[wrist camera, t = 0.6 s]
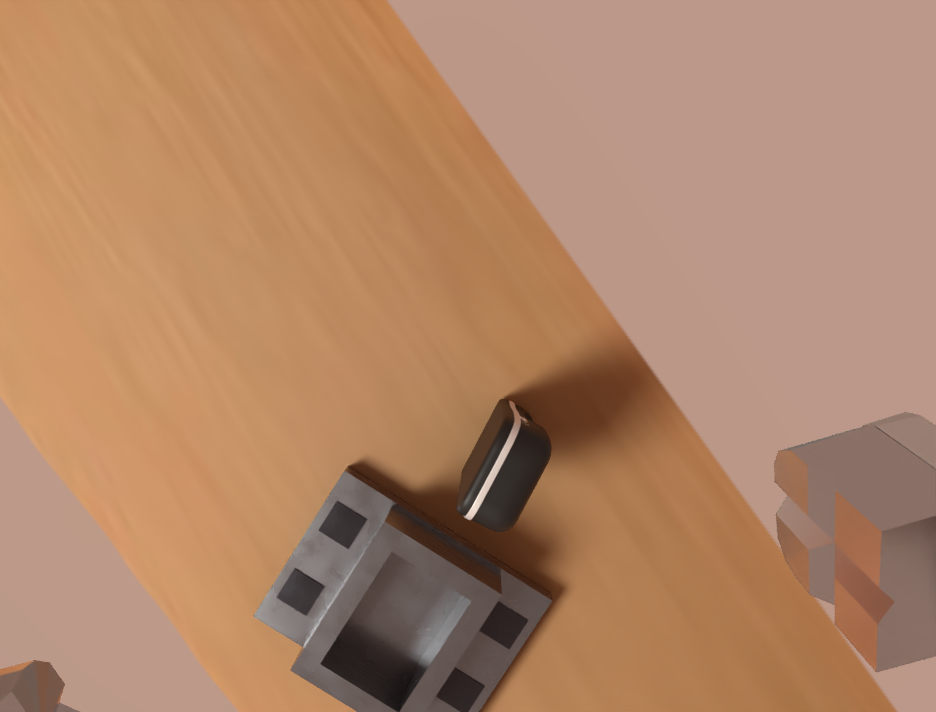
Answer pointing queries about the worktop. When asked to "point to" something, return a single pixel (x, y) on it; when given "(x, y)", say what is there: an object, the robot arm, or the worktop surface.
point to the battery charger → (503, 468)
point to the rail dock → (398, 606)
